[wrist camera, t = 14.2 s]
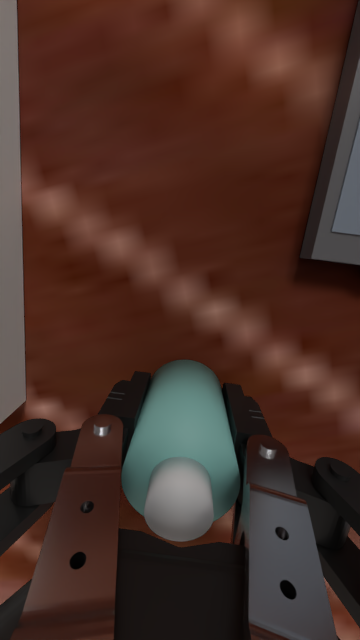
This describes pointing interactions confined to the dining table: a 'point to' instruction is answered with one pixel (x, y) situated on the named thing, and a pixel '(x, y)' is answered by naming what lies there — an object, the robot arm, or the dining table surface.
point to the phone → (339, 172)
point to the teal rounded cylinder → (182, 453)
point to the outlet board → (10, 221)
